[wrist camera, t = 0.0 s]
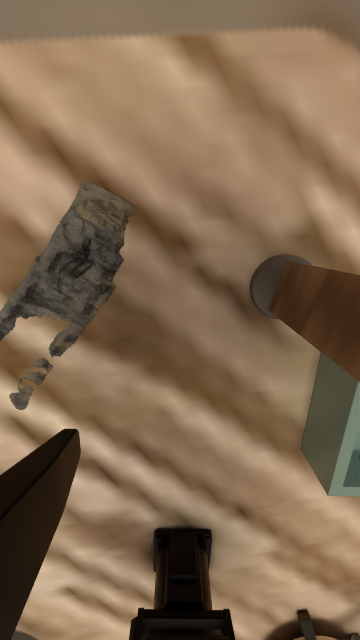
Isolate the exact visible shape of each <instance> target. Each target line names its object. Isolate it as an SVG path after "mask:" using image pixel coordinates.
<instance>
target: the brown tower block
mask: <svg viewBox="0 0 360 640" xmlns="http://www.w3.org/2000/svg"><path fill="white" fill-rule="evenodd" d="M250 292H251V297H252V299H253V301H254V303H255V305H256V306H257V307H258V308H259V309H260V310H261V311H263V312H264V313H265V314H266V315H268V316H270V317H272V318H276V319H280V320H281V321H283V322H284V323H285V324H286V325H288V326H289V327H290V328H291V329H293V330H294V331H295V332H297V333H298V334H299V335H300V336H302V337H303V338H304V339H305V340H307V341H308V342H309V343H310V344H312V345H313V346H314V347H316V348H317V349H318V350H319V351H321V352H322V353H323V354H324V355H326V356H327V357H328V358H329V359H331V360H332V361H333V362H335V363H336V364H337V365H338V366H340V367H341V368H342V369H343V370H345V371H346V372H347V373H348V374H350V375H351V376H352V377H354V378H355V379H356V380H357V381H359V382H360V275H356V274H351V273H346V272H341V271H336V270H331V269H326V268H321V267H316V266H312V265H311V264H310V263H309V262H308V261H307V260H305V259H303V258H301V257H297V256H292V255H278V256H274V257H271V258H269V259H267V260H266V261H264V262H263V263H262V264H261V265H260V266H259V267H258V268H257V270H256V271H255V273H254V275H253V277H252V280H251V285H250Z"/></svg>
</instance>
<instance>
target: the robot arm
mask: <svg viewBox="0 0 360 640" xmlns="http://www.w3.org/2000/svg"><path fill="white" fill-rule="evenodd" d="M80 454H81V448H80V438H79V431H78V430H77V429H63V430H62V431H60V432H59V433H58V434H56V435H55V436H53V437H52V438H51V439H49V440H48V441H47V442H45V443H44V444H42V445H41V446H40V447H38V448H37V449H36V450H34V451H33V452H31V453H30V454H29V455H27V456H26V457H25V458H23V459H22V460H20V461H19V462H18V463H16V464H15V465H14V466H12V467H11V468H9V469H8V470H7V471H5V472H4V473H3V474H1V475H0V640H11V638H12V636H13V633H14V631H15V629H16V626H17V624H18V621H19V619H20V617H21V614H22V612H23V609H24V607H25V604H26V602H27V600H28V597H29V595H30V592H31V590H32V587H33V585H34V583H35V580H36V578H37V575H38V573H39V570H40V568H41V566H42V563H43V561H44V558H45V556H46V553H47V551H48V549H49V546H50V544H51V541H52V539H53V536H54V534H55V532H56V529H57V527H58V524H59V522H60V519H61V517H62V514H63V511H64V508H65V505H66V502H67V499H68V495H69V492H70V489H71V485H72V482H73V479H74V476H75V472H76V469H77V466H78V462H79V459H80ZM359 460H360V455H359ZM211 544H212V532H211V531H209V530H162V529H158V530H155V531H154V571H155V572H156V580H155V595H154V609H144V608H138V616H137V617H136V618H134V619H132V620H131V628H130V636H129V640H235V636H234V631H233V626H232V620H231V615H230V610H229V609H223V610H212V601H211V590H210V579H209V564H210V554H211Z"/></svg>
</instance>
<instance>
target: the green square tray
mask: <svg viewBox="0 0 360 640" xmlns="http://www.w3.org/2000/svg"><path fill="white" fill-rule="evenodd" d="M301 451H302V452H303V454H304V456H305V457H306V459H307V461H308V463H309V464H310V466H311V468H312V469H313V471H314V473H315V474H316V476H317V478H318V480H319V481H320V483H321V485H322V486H323V488H324V490H325V492H326V493H327V495H328V496H359V497H360V460H359V455H360V382H359V381H357V380H356V379H355V378H354V377H352V376H351V375H350V374H348V373H347V372H346V371H345V370H343V369H342V368H341V367H340V366H338V365H337V364H336V363H335V362H333V361H332V360H331V359H329V358H328V357H327V356H326V355H324V354H323V353H322V352H321V357H320V361H319V366H318V371H317V376H316V380H315V385H314V390H313V395H312V399H311V404H310V409H309V414H308V419H307V423H306V428H305V433H304V438H303V442H302V447H301Z"/></svg>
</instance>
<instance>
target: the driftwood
mask: <svg viewBox="0 0 360 640" xmlns="http://www.w3.org/2000/svg"><path fill="white" fill-rule="evenodd" d="M86 186H89V189H85V188H86ZM138 210H139V209H138ZM138 210H137V209H136V208H135V207H134V206H132V205H131V204H130V203H128V202H127V201H125V200H124V199H123V198H120V197H118V196H117V195H115V194H114V193H111V192H108V191H106V190H105V189H104V188H101V187H99V186H98V185H95V184H93V183H92V184H90V183H88V182H84V183H83V184H81V186H80V189H79V191H78V193H77V195H76V198H75V200H74V201H73V203H72V205H71V207H70V209H69V210H68V212H67V213H66V214H65V215H64V217H63V218H62V220H61V221H60V224H59V225H58V226H57V229H56V230H55V232H54V233H53V235H52V237H51V240H50V241H49V244H48V246H47V248H46V249H45V251H44V252H43V254H42V255H41V256H40V257H39V256H38V257H36V259H35V262H34V264H33V266H32V268H31V270H30V272H29V274H28V276H27V277H26V278H25V279H24V280H23V281H22V282H21V283H20V285H19V287H18V289H16V290H15V292H14V293H13V295H12V297H11V298H9V300H8V302H7V303H6V304H5V306H4V307H3V309H2V310H1V311H0V341H1V339H2V338H3V337H4V336H5V335H7V334H8V333H9V332H10V330H13V328H14V327H15V322H16V318H17V317H20V316H21V317H22V318H24V319H27V318H29V316H32V317H34V316H38V317H42V315H43V314H46V315H48V316H50V317H51V318H53V319H55V318H60V319H62V320H65V321H68V322H70V324H71V325H72V326H71V327H70V328H69V329H67V330H64V331H62V332H61V333H59V334H58V335H57V336H56V337H55V339H54V341H53V342H52V343H51V344H50V348H49V350H50V354H51V357H53V356H59V357H60V356H61V355H62V354H63V353H64V352H65V351H66V349H68V348H69V347H71V345H72V344H74V342H75V340H76V338H78V335H80V334H81V332H82V330H83V328H85V327H86V325H87V324H89V322H91V320H92V319H93V317H94V316H95V314H96V313H97V311H98V309H97V308H96V307H94V304H95V303H97V304H98V305H100V306H101V305H103V304H104V303H105V302H106V301H107V299H108V298H109V296H110V295H111V294H112V292H113V291H114V289H115V288H116V286H115V285H114V283H113V282H112V281H113V278H114V276H115V273H116V272H117V270H118V269H119V266H120V265H121V264H122V262H123V261H124V260H123V258H122V256H121V255H120V254H119V250H120V249H121V248H122V247H123V245H124V235H125V234H124V231H125V226H126V224H127V223H128V217H129V216H130V215H134V214H136V213H137V211H138ZM67 319H68V320H67ZM30 367H38V368H44V369H45V370H46V371H48V372H49V371H50V370H51V368H52V367H53V366H52V365H51V364H49V362H48V361H47V360H46V359H44V358H41V359H39V360H37V361H35V363H33V364H30ZM48 372H47V373H48ZM46 375H47V374H43V373H41V372H30V373H29V374H28V375H27V377H24V379H29V380H30V381H33V382H35V383H36V384H37V385H40V384H41V383H42V382H43V380H44V378H45V377H46ZM21 381H22V379H19V384H20V383H21ZM18 390H19V393H11V394H10V395H9V397H10V399H11V402H12V403H13V405H14V406H15V407H16V409H19V410H23V409H25V408H26V406H27V402H28V400H29V398H30V396H31V395H32V391H33V389H32V388H31V386H30V387H28V386H26V387H24V388H22V387H19V385H18ZM25 391H26V392H25Z"/></svg>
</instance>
